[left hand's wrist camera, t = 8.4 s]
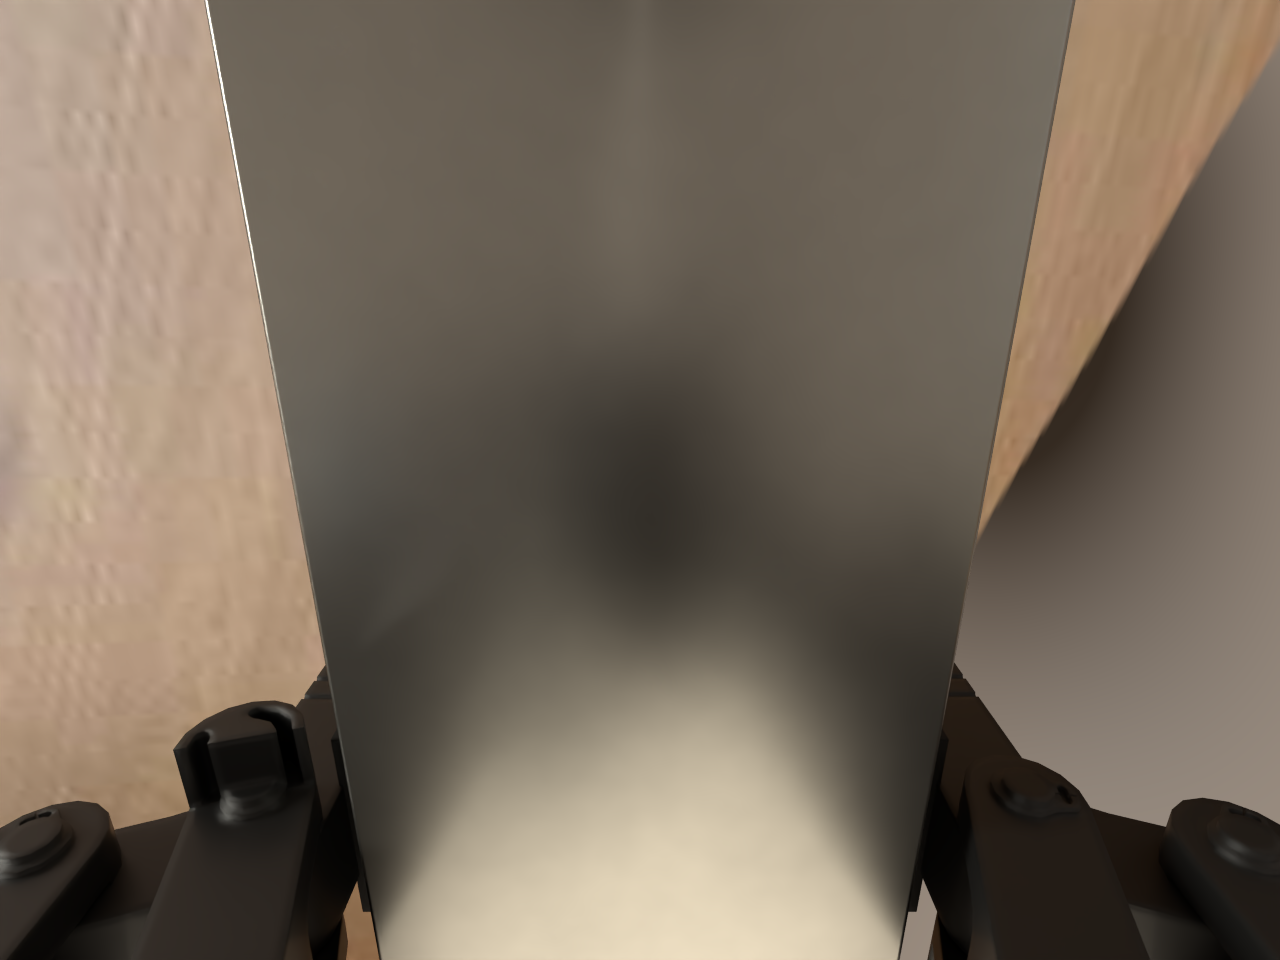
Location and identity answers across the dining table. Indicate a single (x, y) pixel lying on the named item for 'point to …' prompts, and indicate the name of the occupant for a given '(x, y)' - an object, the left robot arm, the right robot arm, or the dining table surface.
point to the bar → (639, 439)
